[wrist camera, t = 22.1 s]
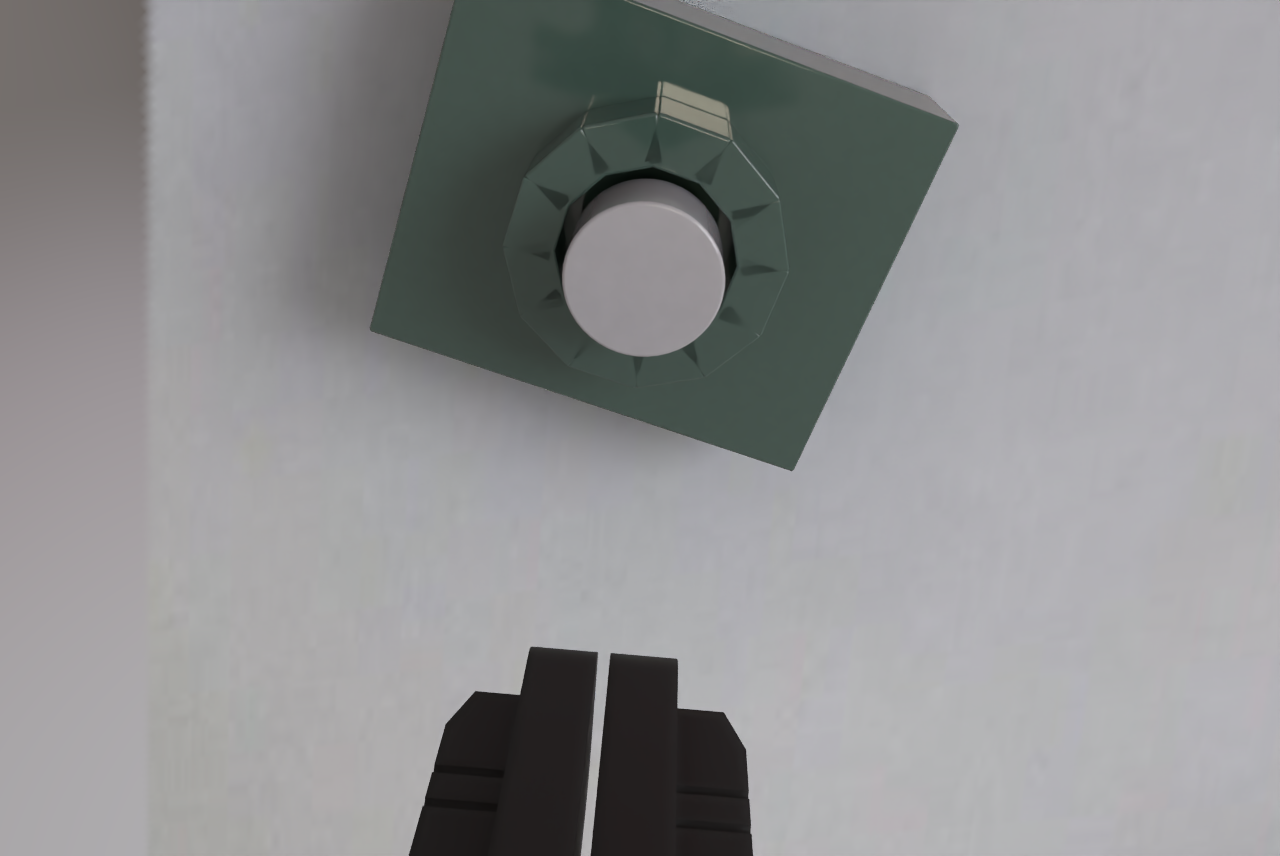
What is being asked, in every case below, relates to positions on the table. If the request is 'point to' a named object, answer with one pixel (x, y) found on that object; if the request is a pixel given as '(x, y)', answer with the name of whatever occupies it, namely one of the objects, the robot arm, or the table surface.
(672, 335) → the grey knob
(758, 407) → the green knob base
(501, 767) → the robot arm
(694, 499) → the table surface
